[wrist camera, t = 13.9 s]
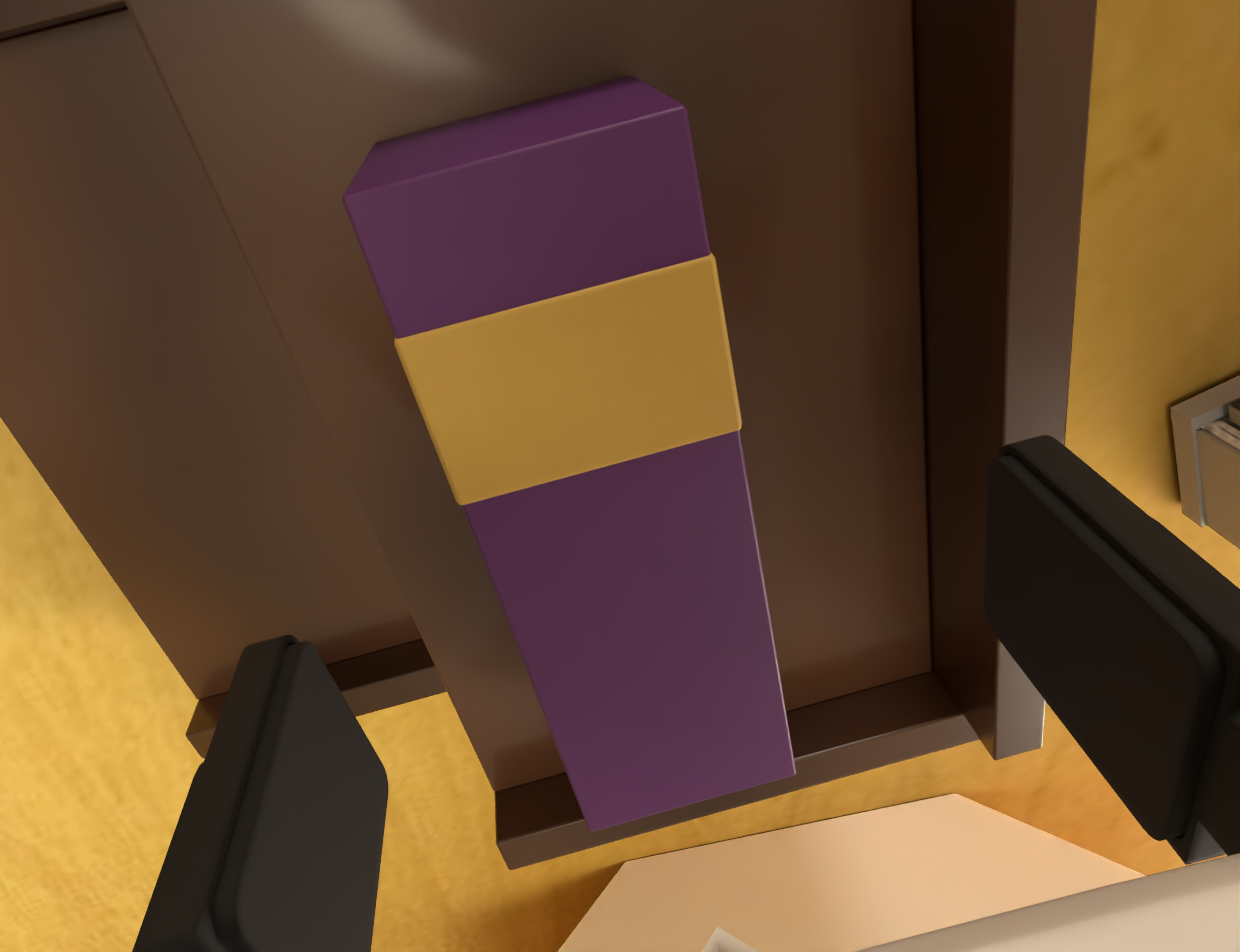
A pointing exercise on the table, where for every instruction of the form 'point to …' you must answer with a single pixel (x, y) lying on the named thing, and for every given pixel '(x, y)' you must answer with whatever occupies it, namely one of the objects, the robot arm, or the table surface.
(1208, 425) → the cassette tape recorder
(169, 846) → the robot arm
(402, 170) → the purple banded block
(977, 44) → the step rack
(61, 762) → the table surface
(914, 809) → the cream angular block
